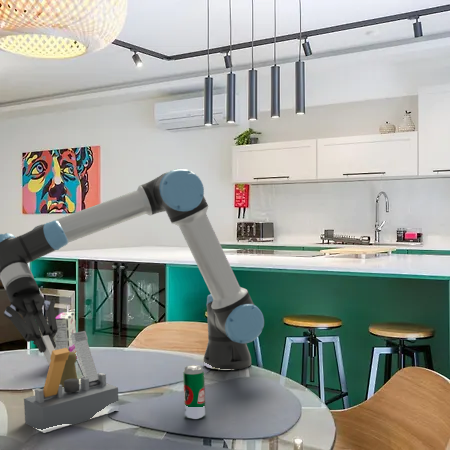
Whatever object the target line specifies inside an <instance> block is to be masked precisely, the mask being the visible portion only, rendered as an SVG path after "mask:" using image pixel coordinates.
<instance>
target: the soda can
mask: <svg viewBox="0 0 450 450" xmlns="http://www.w3.org/2000/svg"><path fill="white" fill-rule="evenodd" d="M182 375H183V376H182V377H183V378H182V379H183V381H182V382H183V401H184V403H183V404H185V405H186V406H188V407H203V406H205V407H206V390H205V389H206V387H205V386H206V385H205V370H204V368H203V366H202V365H197V364H192V365H191V364H190V365H187V366H184V370H183V372H182Z"/></svg>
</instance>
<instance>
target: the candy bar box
mask: <svg viewBox="0 0 450 450" xmlns="http://www.w3.org/2000/svg"><path fill="white" fill-rule="evenodd" d="M75 313H76V312H74V311H67V312H64V311H63V312H60V313H59V314H58V315H56V316H55V317H56V323H57V329H58V331H57V333H56V335H55V336H54V337H53V339H54V342H55V344H56V347H55V350H58V349H63V348H67V349H68V350H69V352H74V353H76V349H75V346H74V344H73V343H72V339H71V336H70V335H71V334H72V333H77V331H76V329H77V328H76V316H75Z"/></svg>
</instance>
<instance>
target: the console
mask: <svg viewBox="0 0 450 450" xmlns="http://www.w3.org/2000/svg"><path fill="white" fill-rule="evenodd" d="M97 374H98V377H99V381H100V385H97V386H93V387H89V379H88V378H86V377H84V376H81V377H80V379H79V380H80V383H79V391H77V392H72V393H67V392H64V388H63V389H62V385H59V388H58V392H57V395H56V396H55V397H51V398H48V399H44V395H43V389H42V388H40V387H38V388H35V389H34V395H32V396H28V397H24V398H23V405H24V406H23V407H24V423H25V424H26V425H28V426H30V428H33V427H34V428H33V429H35V428H37V429H41V430H43V429H46V428H49V427H53V426H57V425H62V424H72V425H71V426H75V425H78V424H81V423H84V422H88V421H90V420H89V419H90V418H92V417H93V416H94V415H95V414H96V413H97V412H99V411H101V410H102V409H104V408H105V407H106V406H108V405H109V404H111V403H114V402H116V401H119V400H120V399H119V387H118V386H115V385H113V384H111V383H107V376H106V375H107V374H105V373H103V372H99V373H98V372H97ZM87 420H88V421H87Z"/></svg>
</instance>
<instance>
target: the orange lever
mask: <svg viewBox="0 0 450 450" xmlns="http://www.w3.org/2000/svg"><path fill="white" fill-rule="evenodd" d="M68 356H69V350H68V349H67V348H63V349H58V350H53V351H52V354H51V358H50V359H51V362H50V365H48V366H49V367H48V370H47V374H46V378H45V381H44V385H43V389H42V390H43V395H44V399H48V398H51V397H55V396H56V395H57V392H58V388H59V385H60V381H61V377H62V374H63V370H64V366H65V363H66V360H68Z"/></svg>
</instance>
